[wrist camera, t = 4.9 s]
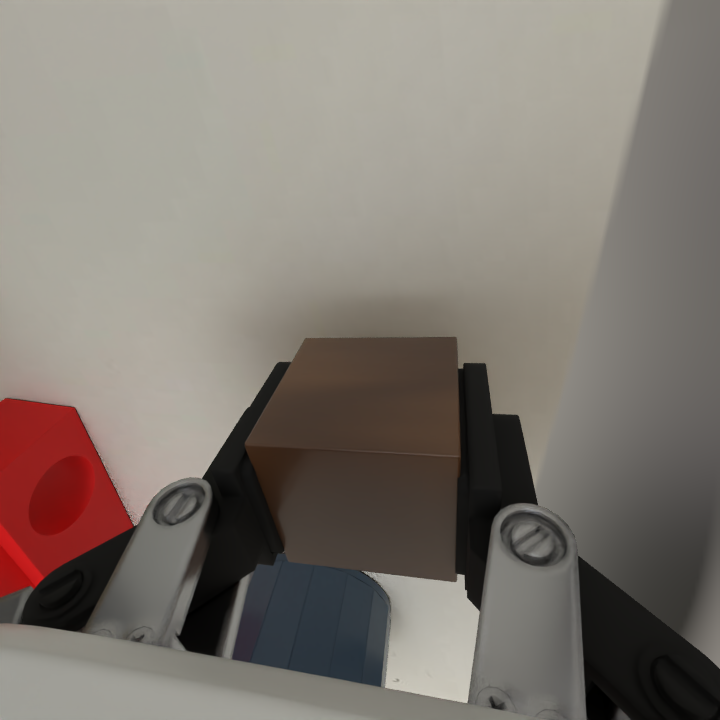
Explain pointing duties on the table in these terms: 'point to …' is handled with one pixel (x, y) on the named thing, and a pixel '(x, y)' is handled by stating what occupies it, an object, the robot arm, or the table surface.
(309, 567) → the canister
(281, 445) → the block
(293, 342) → the table surface
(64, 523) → the bracket
